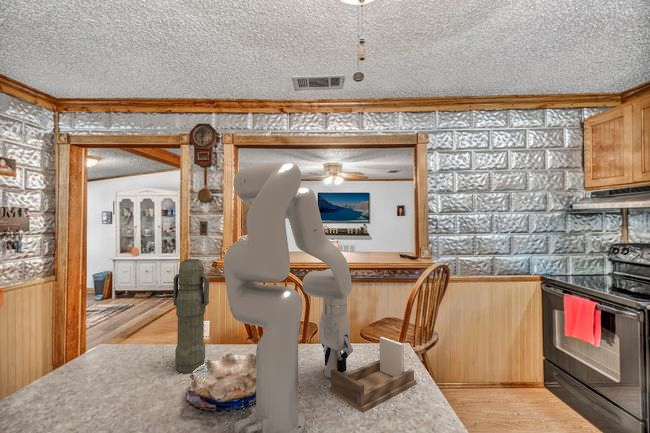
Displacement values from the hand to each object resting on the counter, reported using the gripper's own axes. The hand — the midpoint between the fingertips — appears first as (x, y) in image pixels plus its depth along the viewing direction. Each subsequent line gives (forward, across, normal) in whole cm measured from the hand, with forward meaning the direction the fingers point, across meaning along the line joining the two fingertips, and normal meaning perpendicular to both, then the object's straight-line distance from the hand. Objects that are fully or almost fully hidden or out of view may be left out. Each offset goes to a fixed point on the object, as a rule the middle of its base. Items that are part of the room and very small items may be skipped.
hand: (335, 367), depth 96 cm
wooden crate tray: (+2, +13, +3) cm, 13 cm away
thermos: (+2, -34, -33) cm, 47 cm away
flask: (+2, 0, 0) cm, 2 cm away
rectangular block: (+1, +13, +11) cm, 17 cm away
